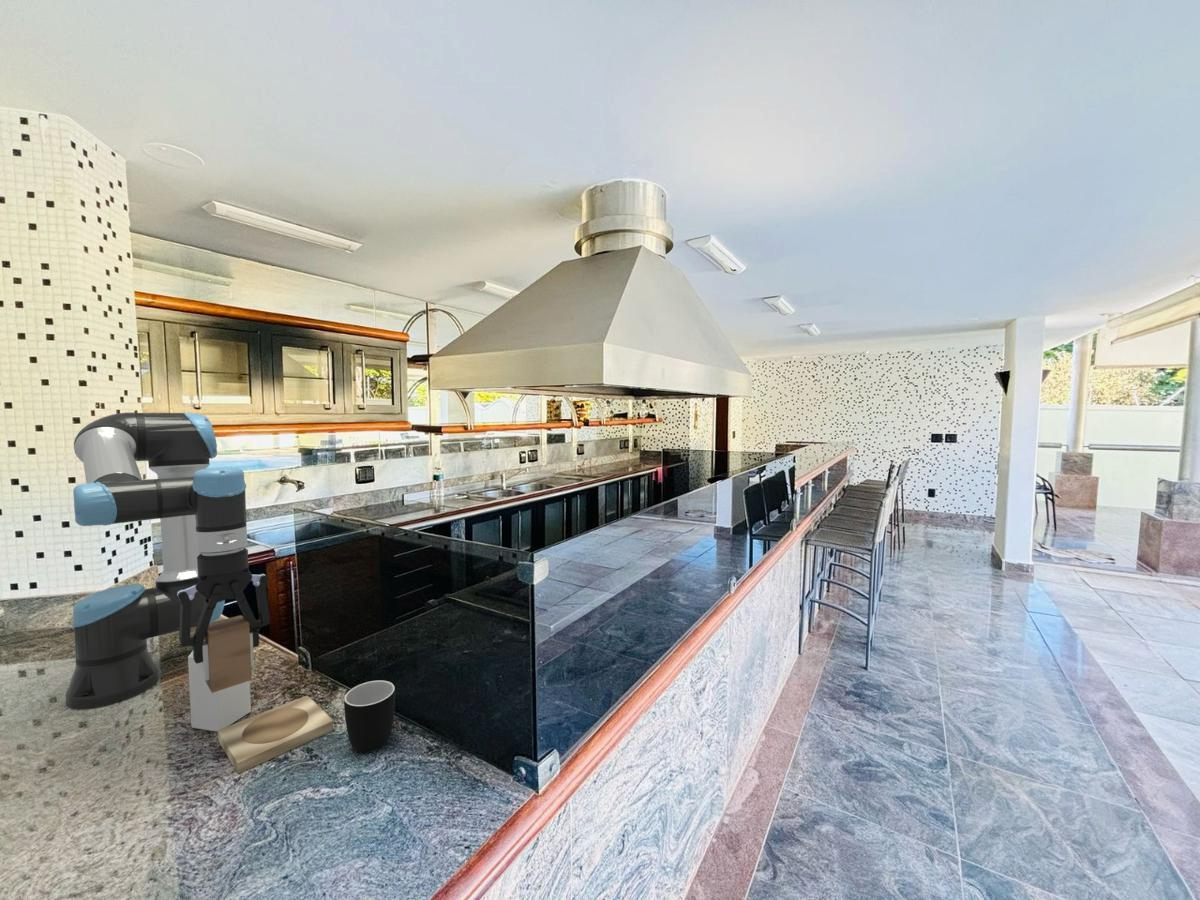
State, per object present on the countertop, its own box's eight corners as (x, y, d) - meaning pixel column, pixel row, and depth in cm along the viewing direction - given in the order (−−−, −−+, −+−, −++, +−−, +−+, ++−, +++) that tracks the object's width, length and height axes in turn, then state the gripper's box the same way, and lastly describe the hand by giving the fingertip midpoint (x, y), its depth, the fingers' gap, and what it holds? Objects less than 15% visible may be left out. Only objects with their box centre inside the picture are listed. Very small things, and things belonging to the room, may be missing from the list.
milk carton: (219, 732, 97) (215, 641, 96) (190, 728, 98) (186, 637, 97) (251, 712, 104) (248, 626, 103) (224, 708, 105) (220, 623, 104)
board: (217, 740, 95) (217, 729, 95) (307, 703, 107) (307, 694, 107) (238, 773, 86) (237, 762, 86) (333, 730, 98) (333, 719, 98)
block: (205, 681, 91) (202, 624, 91) (244, 669, 96) (241, 615, 95) (211, 693, 87) (208, 633, 87) (251, 679, 92) (249, 623, 91)
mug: (405, 737, 96) (404, 687, 96) (364, 764, 88) (362, 711, 88) (368, 718, 102) (367, 671, 102) (326, 742, 94) (324, 692, 94)
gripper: (156, 565, 81) (163, 699, 82) (287, 544, 95) (291, 658, 96) (151, 557, 86) (158, 683, 87) (276, 538, 100) (280, 647, 101)
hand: (228, 670), depth 91 cm, fingers closed on block, 6 cm apart
